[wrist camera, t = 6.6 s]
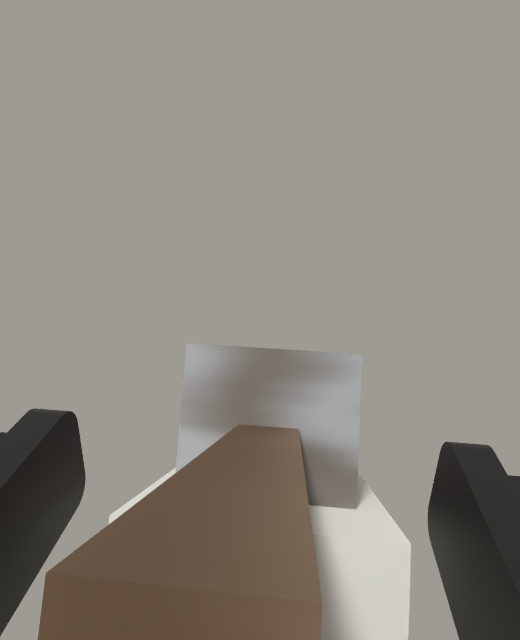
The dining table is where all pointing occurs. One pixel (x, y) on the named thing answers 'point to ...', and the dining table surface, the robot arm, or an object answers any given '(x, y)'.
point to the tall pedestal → (354, 568)
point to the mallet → (225, 509)
